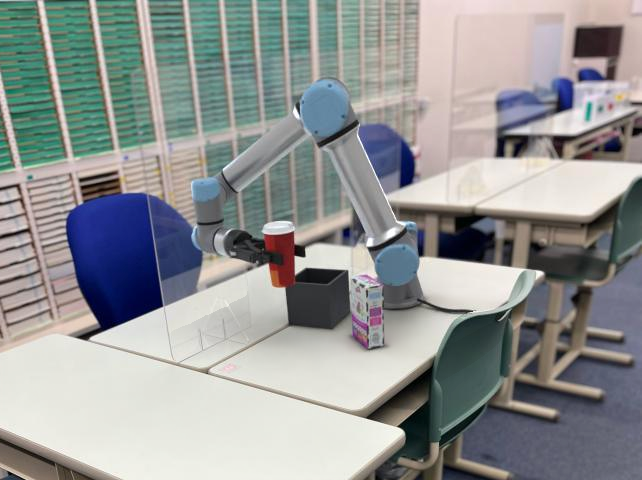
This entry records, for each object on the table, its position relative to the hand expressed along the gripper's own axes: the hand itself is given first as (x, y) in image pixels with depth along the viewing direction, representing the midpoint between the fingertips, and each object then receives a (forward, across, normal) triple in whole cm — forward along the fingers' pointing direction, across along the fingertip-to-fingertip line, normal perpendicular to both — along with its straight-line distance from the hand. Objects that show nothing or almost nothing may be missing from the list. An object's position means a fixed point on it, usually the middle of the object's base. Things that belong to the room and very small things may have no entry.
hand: (293, 255), depth 172 cm
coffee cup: (-5, 0, -8) cm, 10 cm away
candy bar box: (+11, -14, -25) cm, 31 cm away
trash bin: (-12, -19, -25) cm, 33 cm away
